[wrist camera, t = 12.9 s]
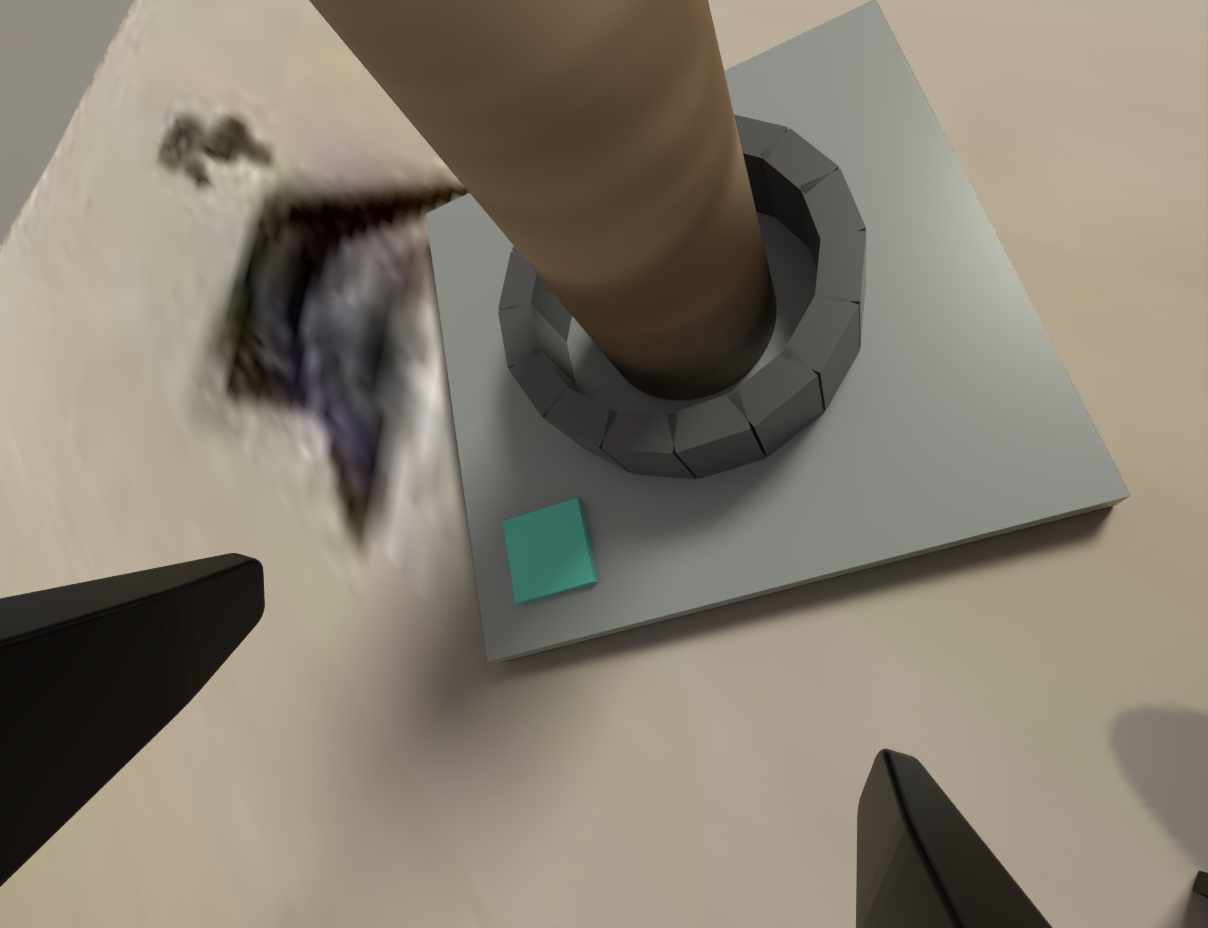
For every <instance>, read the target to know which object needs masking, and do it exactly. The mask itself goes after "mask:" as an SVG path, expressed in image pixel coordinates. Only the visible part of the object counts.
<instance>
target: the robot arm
mask: <svg viewBox="0 0 1208 928" xmlns="http://www.w3.org/2000/svg"><path fill="white" fill-rule="evenodd" d="M264 608H265V598H264V575H263V566H262V564H261V563H260V561H258V560H257V559H255V558H251V557H248V556H245V555H241V554H237V553H230V554H225V555H219V556H214V557H209V558H204V559H199V560H194V561H189V562H184V563H179V564H174V565H169V566H163V567H158V568H153V569H148V570H143V571H138V572H133V573H128V574H123V575H118V576H113V577H107V578H102V579H97V580H92V581H87V582H82V583H77V584H72V585H67V586H62V587H57V588H51V589H46V590H41V591H36V592H31V593H26V594H21V595H16V596H11V597H6V598H1V599H0V887H1V886H2V885H3V884H4V883H5V882H6V881H7V880H8V879H9V878H10V877H11V876H12V875H13V874H14V873H15V872H16V871H17V870H18V869H19V868H20V867H21V866H22V865H23V864H24V863H25V862H26V861H27V860H28V859H30V858H31V857H32V856H33V855H34V854H35V853H36V852H37V851H38V850H39V849H40V848H41V847H42V846H43V845H44V844H45V843H46V842H47V841H48V840H49V839H50V838H51V837H52V836H53V835H54V834H55V833H56V832H57V831H58V830H59V829H60V828H61V827H62V826H63V825H64V824H65V823H66V822H68V821H69V820H70V819H71V818H72V817H73V816H74V815H75V814H76V813H77V812H78V811H79V810H80V809H81V808H82V807H83V806H84V805H85V804H86V803H87V802H88V801H89V800H90V799H91V798H92V797H93V796H94V795H95V794H96V793H97V792H98V791H99V790H100V789H101V788H102V787H103V786H104V785H106V784H107V783H108V782H109V781H110V780H111V779H112V778H113V777H114V776H115V775H116V774H117V773H118V772H119V771H120V770H121V769H122V768H123V767H124V766H125V765H126V764H127V763H128V762H129V761H130V760H131V759H132V758H133V757H134V756H135V755H136V754H137V753H138V752H139V751H140V750H141V749H143V748H144V747H145V746H146V745H147V744H148V743H149V742H150V741H151V740H152V739H153V738H154V737H155V736H156V735H157V734H158V733H159V732H160V731H161V730H162V729H163V728H164V727H165V726H166V725H167V724H168V723H169V722H170V721H171V720H172V719H173V718H174V717H175V716H176V715H177V714H178V713H179V712H180V711H181V710H182V709H183V708H184V707H185V706H186V705H187V704H188V703H189V702H190V701H191V700H192V699H193V698H194V697H195V695H196V694H197V693H198V692H199V691H200V690H201V689H202V688H203V686H204V685H205V684H206V683H207V682H208V681H209V679H210V678H211V677H212V676H213V675H214V674H215V672H216V671H217V670H218V669H219V668H220V667H221V665H222V664H223V663H224V662H225V661H226V660H227V658H228V657H229V656H230V655H231V654H232V653H233V652H234V650H235V649H236V648H237V647H238V646H239V645H240V643H241V642H242V641H243V640H244V639H245V638H246V636H247V635H248V634H249V633H250V632H251V631H252V629H253V628H254V627H255V626H256V625H257V624H258V622H259V621H260V619H261V617H262V615H263V612H264ZM856 928H1052V926H1051V925H1050V924H1049V923H1048V921H1047V920H1046V919H1045V918H1044V916H1043V915H1042V914H1041V913H1040V911H1039V910H1038V909H1037V908H1036V906H1035V905H1034V904H1033V903H1032V901H1031V900H1030V899H1029V898H1028V896H1027V895H1026V894H1025V893H1024V891H1023V890H1022V889H1021V888H1020V886H1019V885H1018V884H1017V883H1016V881H1015V880H1014V879H1013V878H1012V876H1011V875H1010V874H1009V873H1008V871H1007V870H1006V869H1005V868H1004V866H1003V865H1002V864H1001V863H1000V861H999V860H998V859H997V858H996V856H995V855H994V854H993V853H992V851H991V850H990V849H989V848H988V846H987V845H986V844H985V843H984V841H983V840H982V839H981V838H980V836H979V835H978V834H977V833H976V831H975V830H974V829H973V828H972V826H971V825H970V824H969V823H968V821H967V820H966V819H965V818H964V816H963V815H962V814H961V813H960V811H959V810H958V809H957V808H956V806H955V805H954V804H953V803H952V801H951V800H950V799H949V798H948V796H947V795H946V794H945V793H944V791H943V790H942V789H941V788H940V787H939V785H938V784H937V783H936V782H935V780H934V779H933V778H932V777H931V775H930V774H929V773H928V772H927V770H926V769H925V768H924V767H923V765H922V764H921V763H920V762H919V761H918V760H917V759H916V758H915V757H912V756H910V755H906V754H903V753H900V752H896V751H893V750H890V749H882V750H880V751H879V753H878V754H877V756H876V758H875V760H874V763H873V765H872V768H871V771H870V773H869V776H868V778H867V781H866V783H865V786H864V789H863V791H862V794H861V797H860V800H859V806H858V814H857V892H856Z"/></svg>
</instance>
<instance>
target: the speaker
mask: <svg viewBox="0 0 1208 928" xmlns="http://www.w3.org/2000/svg"><path fill="white" fill-rule="evenodd" d="M1194 891H1195V892H1197V893H1199V894H1201V895H1203V896H1205V897H1206V898H1208V873H1206V872H1202V871H1199V873H1198V877H1197V880H1196V884H1195V887H1194Z"/></svg>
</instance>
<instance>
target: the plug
mask: <svg viewBox="0 0 1208 928" xmlns="http://www.w3.org/2000/svg"><path fill="white" fill-rule="evenodd" d="M309 1H310V2H311V3H312V4H313V5H314V7H315V8H316V9H317V10H318V11H319V13H320V14H321V15H322V16H323V17H324V19H325V20H326V21H327V22H328V23H329V25H330V26H331V27H332V28H333V29H334V31H335V32H336V33H337V34H338V35H339V37H340V38H341V39H342V40H343V41H344V43H345V44H346V45H347V46H348V47H349V49H350V50H351V51H352V52H353V53H354V55H355V56H356V57H357V58H358V59H359V61H360V62H361V63H362V64H363V65H364V67H365V68H366V69H367V70H368V71H369V73H370V74H371V75H372V76H373V77H374V79H375V80H376V81H377V82H378V83H379V85H380V86H381V87H382V88H383V89H384V91H385V92H386V93H387V94H388V95H389V97H390V98H391V99H392V100H393V101H394V103H395V104H396V105H397V106H398V107H399V109H400V110H401V111H402V112H403V113H404V115H405V116H406V117H407V118H408V119H409V121H410V122H411V123H412V124H413V125H414V127H415V128H416V129H417V130H418V131H419V133H420V134H421V135H422V136H423V137H424V139H425V140H426V141H427V142H428V143H429V145H430V146H431V147H432V148H433V149H434V151H435V152H436V153H437V154H438V155H439V157H440V158H441V159H442V160H443V161H444V163H445V164H446V165H447V166H448V167H449V169H450V170H451V171H452V172H453V173H454V175H455V176H456V177H457V178H458V179H459V181H460V182H461V183H462V184H463V185H464V187H465V188H466V189H467V190H468V191H469V193H470V194H471V195H472V196H473V197H474V199H475V200H476V201H477V202H478V203H479V205H480V206H481V207H482V208H483V209H484V211H485V212H486V213H487V214H488V215H489V217H490V218H491V219H492V220H493V221H494V223H495V224H496V225H497V226H498V227H499V229H500V230H501V231H502V232H503V233H504V235H505V236H506V237H507V238H508V239H509V241H510V242H511V243H512V244H513V245H514V247H515V248H516V249H517V250H518V251H519V253H520V254H521V255H522V256H523V257H524V259H525V260H526V261H527V262H528V263H529V265H530V266H531V267H532V268H533V269H534V271H535V272H536V273H537V274H538V275H539V277H540V278H541V279H542V280H543V281H544V283H545V284H546V285H547V286H548V287H549V289H550V290H551V291H552V292H553V293H554V295H555V296H556V297H557V298H558V299H559V301H560V302H561V303H562V304H563V305H564V307H565V308H566V309H567V310H568V311H569V313H570V314H571V315H572V316H573V317H574V319H575V320H576V321H577V322H578V323H579V325H580V326H581V327H582V328H583V329H584V331H585V332H586V333H587V334H588V335H589V337H590V338H591V339H592V340H593V341H594V342H595V344H596V345H597V346H598V347H599V348H600V350H601V351H602V352H603V353H604V354H605V356H606V357H607V358H608V359H609V360H610V362H611V363H612V364H613V365H614V366H615V368H616V369H617V370H618V371H619V372H620V374H621V375H622V376H623V377H624V378H625V379H626V380H627V381H628V382H629V383H630V384H631V385H633V386H634V387H635V388H637V389H638V390H640V391H642V392H644V393H646V394H648V395H651V396H654V397H656V398H661V399H666V400H676V401H681V400H693V399H699V398H703V397H706V396H710V395H713V394H715V393H717V392H720V391H722V390H724V389H726V388H728V387H729V386H731V385H733V384H734V383H736V382H737V381H738V380H740V379H741V378H742V377H744V376H745V375H746V374H747V373H748V372H749V371H750V370H751V369H752V368H753V367H754V366H755V364H756V363H757V362H758V361H759V360H760V358H761V357H762V355H763V354H764V352H765V350H766V349H767V347H768V345H769V342H770V340H771V338H772V335H773V332H774V328H775V323H776V317H777V304H776V296H775V292H774V287H773V283H772V278H771V274H770V270H769V265H768V261H767V257H766V252H765V248H764V244H763V239H762V235H761V230H760V226H759V222H758V217H757V213H756V209H755V204H754V200H753V195H752V191H751V187H750V182H749V178H748V174H747V169H746V165H745V161H744V156H743V152H742V147H741V143H740V139H739V134H738V130H737V126H736V121H735V117H734V112H733V108H732V104H731V99H730V95H729V91H728V86H727V82H726V78H725V73H724V69H723V64H722V60H721V56H720V51H719V47H718V43H717V38H716V34H715V29H714V25H713V21H712V16H711V12H710V8H709V3H708V0H309Z"/></svg>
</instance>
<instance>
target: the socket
mask: <svg viewBox="0 0 1208 928" xmlns="http://www.w3.org/2000/svg"><path fill="white" fill-rule="evenodd" d="M724 73H725V78H726V82H727V86H728V91H729V95H730V99H731V104H732V108H733V112H734V117H735V121H736V126H737V130H738V134H739V139H740V143H741V147H742V152H743V156H744V161H745V165H746V169H747V174H748V178H749V182H750V187H751V191H752V195H753V200H754V204H755V209H756V213H757V217H758V222H759V226H760V230H761V235H762V239H763V244H764V248H765V252H766V257H767V261H768V265H769V270H770V274H771V278H772V283H773V287H774V292H775V296H776V304H777V317H776V323H775V328H774V332H773V335H772V338H771V340H770V342H769V345H768V347H767V349H766V350H765V352H764V354H763V355H762V357H761V358H760V360H759V361H758V362H757V363H756V364H755V366H754V367H753V368H752V369H751V370H750V371H749V372H748V373H747V374H746V375H745V376H744V377H742V378H741V379H740V380H738V381H737V382H736V383H734V384H733V385H731V386H729V387H728V388H726V389H724V390H722V391H720V392H717V393H715V394H713V395H710V396H706V397H703V398H699V399H693V400H681V401H676V400H666V399H661V398H656V397H654V396H651V395H648V394H646V393H644V392H642V391H640V390H638V389H637V388H635V387H634V386H633V385H631V384H630V383H629V382H628V381H627V380H626V379H625V378H624V377H623V376H622V375H621V374H620V372H619V371H618V370H617V369H616V368H615V366H614V365H613V364H612V363H611V362H610V360H609V359H608V358H607V357H606V356H605V354H604V353H603V352H602V351H601V350H600V348H599V347H598V346H597V345H596V344H595V342H594V341H593V340H592V339H591V338H590V337H589V335H588V334H587V333H586V332H585V331H584V329H583V328H582V327H581V326H580V325H579V323H578V322H577V321H576V320H575V319H574V317H573V316H572V315H571V314H570V313H569V311H568V310H567V309H566V308H565V307H564V305H563V304H562V303H561V302H560V301H559V299H558V298H557V297H556V296H555V295H554V293H553V292H552V291H551V290H550V289H549V287H548V286H547V285H546V284H545V283H544V281H543V280H542V279H541V278H540V277H539V275H538V274H537V273H536V272H535V271H534V269H533V268H532V267H531V266H530V265H529V263H528V262H527V261H526V260H525V259H524V257H523V256H522V255H521V254H520V253H519V251H518V250H517V249H516V248H515V247H514V245H513V244H512V243H511V242H510V241H509V239H508V238H507V237H506V236H505V235H504V233H503V232H502V231H501V230H500V229H499V227H498V226H497V225H496V224H495V223H494V221H493V220H492V219H491V218H490V217H489V215H488V214H487V213H486V212H485V211H484V209H483V208H482V207H481V206H480V205H479V203H478V202H477V201H476V200H475V199H474V197H473V196H472V195H471V194H470V193H469V194H467V195H464V196H462V197H460V198H458V199H456V200H454V201H452V202H450V203H448V204H446V205H444V206H441V207H439V208H437V209H435V210H433V211H431V212H429V213H427V214H426V219H427V226H428V233H429V240H430V248H431V255H432V262H433V270H434V277H435V284H436V292H437V299H438V306H439V314H440V321H441V328H442V336H443V343H444V350H445V358H446V365H447V372H448V380H449V387H450V394H451V402H452V409H453V416H454V424H455V431H456V438H457V446H458V453H459V460H460V468H461V475H462V482H463V490H464V497H465V504H466V512H467V519H468V526H469V534H470V541H471V548H472V556H473V563H474V570H475V578H476V585H477V592H478V600H479V607H480V614H481V622H482V629H483V636H484V644H485V651H486V658H487V661H507V660H511V659H515V658H519V657H523V656H527V655H531V654H535V653H539V652H543V651H547V650H551V649H554V648H558V647H562V646H566V645H570V644H574V643H578V642H582V641H586V640H590V639H594V638H598V637H602V636H605V635H609V634H613V633H617V632H621V631H625V630H629V629H633V628H637V627H641V626H645V625H649V624H652V623H656V622H660V621H664V620H668V619H672V618H676V617H680V616H684V615H688V614H692V613H696V612H700V611H703V610H707V609H711V608H715V607H719V606H723V605H727V604H731V603H735V602H739V601H743V600H747V599H751V598H754V597H758V596H762V595H766V594H770V593H774V592H778V591H782V590H786V589H790V588H794V587H798V586H801V585H805V584H809V583H813V582H817V581H821V580H825V579H829V578H833V577H837V576H841V575H845V574H849V573H852V572H856V571H860V570H864V569H868V568H872V567H876V566H880V565H884V564H888V563H892V562H896V561H900V560H903V559H907V558H911V557H915V556H919V555H923V554H927V553H931V552H935V551H939V550H943V549H947V548H950V547H954V546H958V545H962V544H966V543H970V542H974V541H978V540H982V539H986V538H990V537H994V536H998V535H1001V534H1005V533H1009V532H1013V531H1017V530H1021V529H1025V528H1029V527H1033V526H1037V525H1041V524H1045V523H1048V522H1052V521H1056V520H1060V519H1064V518H1068V517H1072V516H1076V515H1080V514H1084V513H1088V512H1092V511H1096V510H1099V509H1103V508H1107V507H1111V506H1115V505H1117V504H1118V503H1120V502H1122V501H1123V500H1125V499H1126V498H1128V497H1130V496H1131V495H1130V493H1129V491H1128V489H1127V488H1126V486H1125V484H1124V482H1123V480H1122V478H1121V476H1120V474H1119V472H1118V470H1117V468H1116V466H1115V464H1114V462H1113V460H1112V458H1111V456H1110V454H1109V452H1108V451H1107V449H1106V447H1105V445H1104V443H1103V441H1102V439H1101V437H1100V435H1099V433H1098V431H1097V429H1096V427H1095V425H1094V423H1093V421H1092V419H1091V417H1090V415H1089V414H1088V412H1087V410H1086V408H1085V406H1084V404H1083V402H1082V400H1081V398H1080V396H1079V394H1078V392H1077V390H1076V388H1075V386H1074V384H1073V382H1072V380H1071V378H1070V377H1069V375H1068V373H1067V371H1066V369H1065V367H1064V365H1063V363H1062V361H1061V359H1060V357H1059V355H1058V353H1057V351H1056V349H1055V347H1054V345H1053V343H1052V341H1051V340H1050V338H1049V336H1048V334H1047V332H1046V330H1045V328H1044V326H1043V324H1042V322H1041V320H1040V318H1039V316H1038V314H1037V312H1036V310H1035V308H1034V306H1033V304H1032V303H1031V301H1030V299H1029V297H1028V295H1027V293H1026V291H1025V289H1024V287H1023V285H1022V283H1021V281H1020V279H1019V277H1018V275H1017V273H1016V271H1015V269H1014V267H1013V266H1012V264H1011V262H1010V260H1009V258H1008V256H1007V254H1006V252H1005V250H1004V248H1003V246H1002V244H1001V242H1000V240H999V238H998V236H997V234H996V232H995V230H994V229H993V227H992V225H991V223H990V221H989V219H988V217H987V215H986V213H985V211H984V209H983V207H982V205H981V203H980V201H979V199H978V197H977V195H976V193H975V192H974V190H973V188H972V186H971V184H970V182H969V180H968V178H967V176H966V174H965V172H964V170H963V168H962V166H961V164H960V162H959V160H958V158H957V156H956V154H955V153H954V151H953V149H952V147H951V145H950V143H949V141H948V139H947V137H946V135H945V133H944V131H943V129H942V127H941V125H940V123H939V121H938V119H937V117H936V116H935V114H934V112H933V110H932V108H931V106H930V104H929V102H928V100H927V98H926V96H925V94H924V92H923V90H922V88H921V86H920V84H919V82H918V80H917V79H916V77H915V75H914V73H913V71H912V69H911V67H910V65H909V63H908V61H907V59H906V57H905V55H904V53H903V51H902V49H901V47H900V45H899V43H898V42H897V40H896V38H895V36H894V34H893V32H892V30H891V28H890V26H889V24H888V22H887V20H886V18H885V16H884V14H883V12H882V10H881V8H880V6H879V5H878V3H877V1H876V0H872V1H870V2H868V3H866V4H864V5H861V6H859V7H857V8H855V9H853V10H851V11H849V12H847V13H845V14H843V15H841V16H838V17H836V18H834V19H832V20H830V21H828V22H826V23H824V24H822V25H820V26H818V27H815V28H813V29H811V30H809V31H807V32H805V33H803V34H801V35H799V36H797V37H795V38H792V39H790V40H788V41H786V42H784V43H782V44H780V45H778V46H776V47H774V48H772V49H769V50H767V51H765V52H763V53H761V54H759V55H757V56H755V57H753V58H751V59H749V60H747V61H744V62H742V63H740V64H738V65H736V66H734V67H732V68H730V69H728V70H726V71H724Z"/></svg>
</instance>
